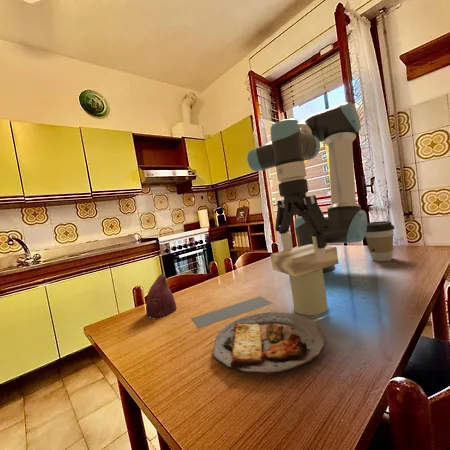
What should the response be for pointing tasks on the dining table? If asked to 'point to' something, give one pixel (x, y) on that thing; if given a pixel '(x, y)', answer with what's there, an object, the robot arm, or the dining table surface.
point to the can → (309, 293)
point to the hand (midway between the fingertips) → (303, 257)
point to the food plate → (267, 343)
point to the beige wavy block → (302, 260)
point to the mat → (229, 311)
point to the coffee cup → (380, 240)
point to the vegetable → (160, 299)
